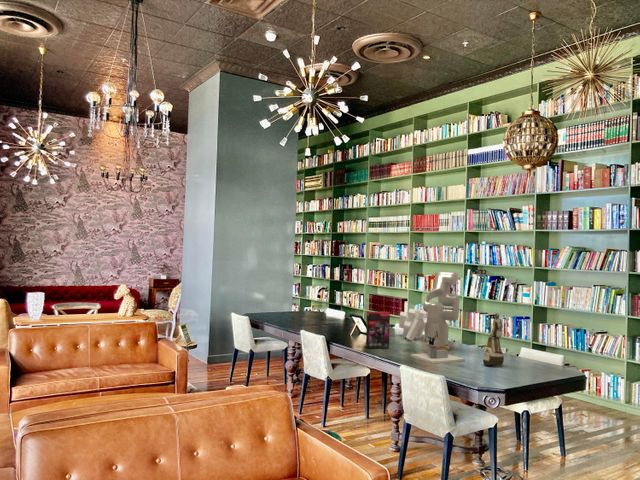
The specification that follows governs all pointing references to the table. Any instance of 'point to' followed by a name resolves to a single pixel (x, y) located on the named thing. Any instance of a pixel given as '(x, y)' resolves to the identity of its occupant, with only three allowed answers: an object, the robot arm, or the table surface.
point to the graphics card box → (377, 329)
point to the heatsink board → (440, 360)
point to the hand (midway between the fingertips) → (431, 346)
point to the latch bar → (441, 347)
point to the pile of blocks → (413, 323)
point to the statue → (494, 345)
